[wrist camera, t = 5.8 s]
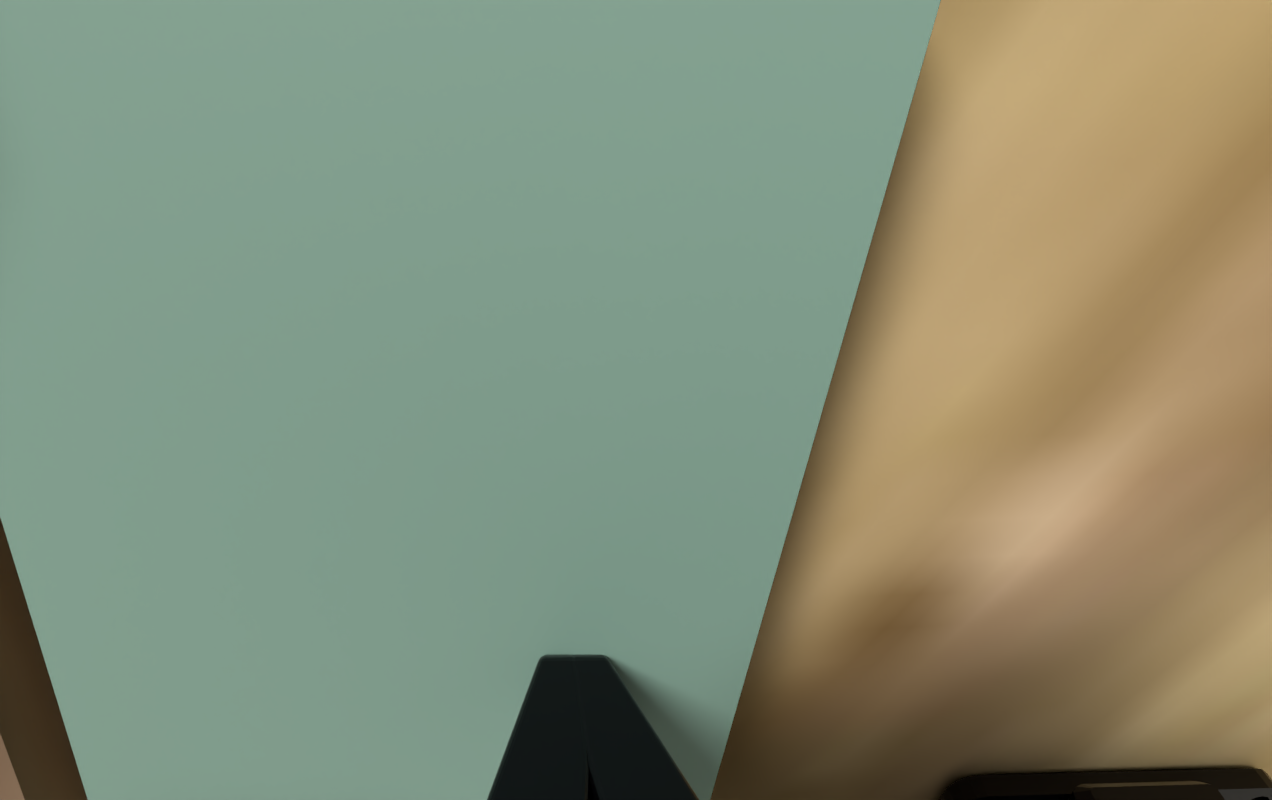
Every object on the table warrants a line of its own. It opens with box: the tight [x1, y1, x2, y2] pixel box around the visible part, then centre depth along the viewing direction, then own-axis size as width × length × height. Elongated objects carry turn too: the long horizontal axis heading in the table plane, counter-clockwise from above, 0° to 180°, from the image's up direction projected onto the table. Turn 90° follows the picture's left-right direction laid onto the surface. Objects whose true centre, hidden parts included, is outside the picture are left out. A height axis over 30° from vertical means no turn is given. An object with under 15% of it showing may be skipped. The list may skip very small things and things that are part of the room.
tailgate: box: [0, 0, 941, 800], centre depth 10 cm, size 1×16×8 cm
